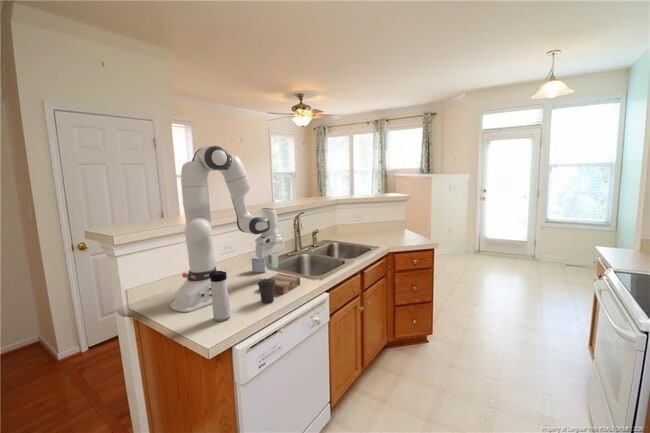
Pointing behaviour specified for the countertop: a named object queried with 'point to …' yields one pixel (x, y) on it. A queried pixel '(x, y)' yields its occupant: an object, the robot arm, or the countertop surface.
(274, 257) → the sage block
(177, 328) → the countertop surface
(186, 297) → the robot arm
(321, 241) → the countertop surface
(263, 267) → the medicine box
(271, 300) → the coffee cup
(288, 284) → the walnut base
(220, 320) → the travel mug
